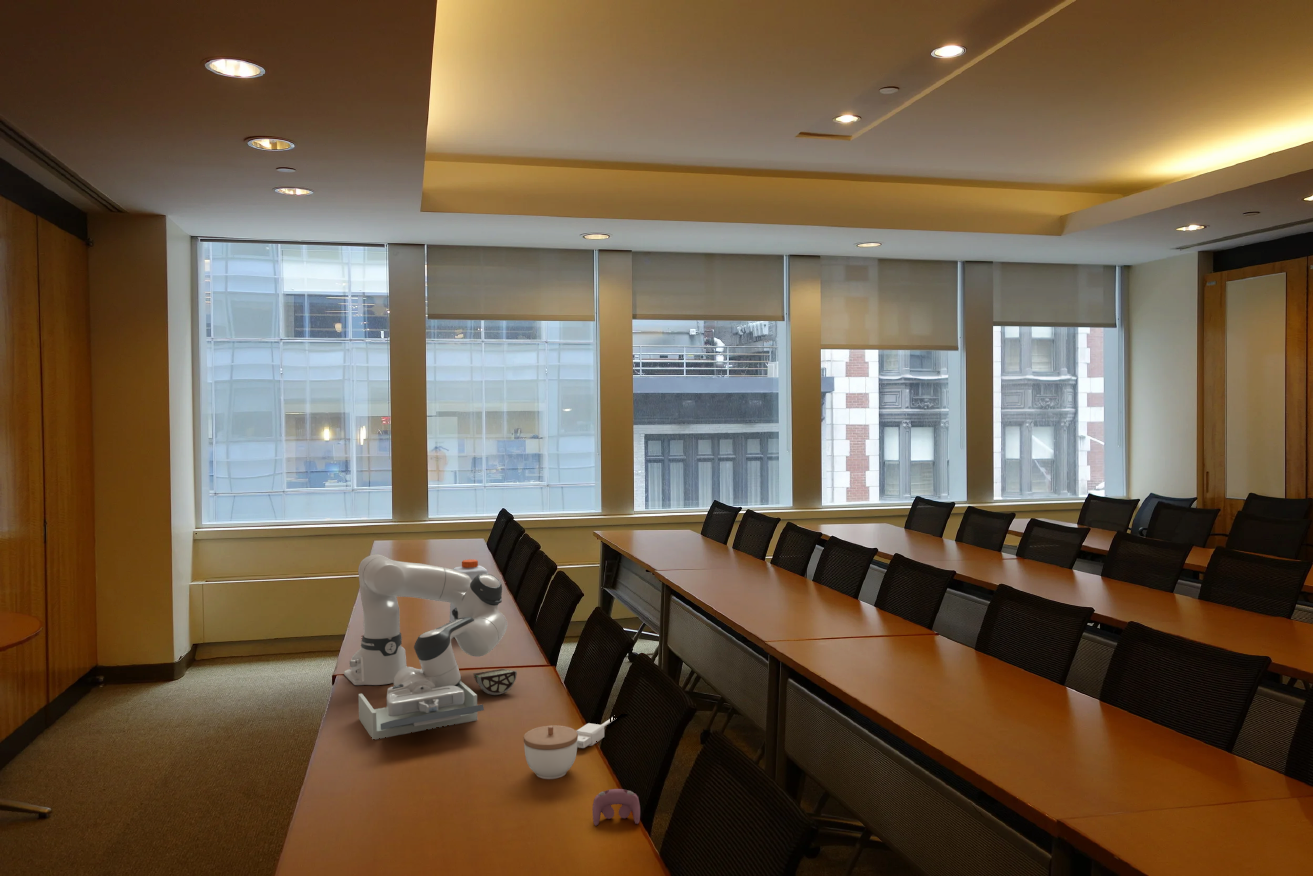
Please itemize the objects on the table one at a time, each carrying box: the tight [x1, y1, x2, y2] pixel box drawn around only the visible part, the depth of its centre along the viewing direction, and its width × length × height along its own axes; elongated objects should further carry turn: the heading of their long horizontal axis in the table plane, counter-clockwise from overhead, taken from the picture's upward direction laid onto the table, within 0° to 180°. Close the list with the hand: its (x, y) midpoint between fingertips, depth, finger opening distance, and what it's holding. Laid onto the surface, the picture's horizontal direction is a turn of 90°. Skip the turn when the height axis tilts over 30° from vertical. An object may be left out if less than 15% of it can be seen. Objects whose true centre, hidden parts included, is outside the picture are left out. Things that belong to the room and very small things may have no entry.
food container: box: [473, 668, 518, 696], centre depth 268 cm, size 12×6×10 cm
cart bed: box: [358, 680, 478, 740], centre depth 244 cm, size 18×28×7 cm, turn 120°
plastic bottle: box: [448, 558, 489, 623], centre depth 338 cm, size 15×15×28 cm
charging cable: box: [576, 716, 616, 749], centre depth 236 cm, size 5×32×3 cm, turn 158°
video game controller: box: [592, 788, 641, 826], centre depth 184 cm, size 10×5×7 cm, turn 93°
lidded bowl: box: [523, 724, 578, 780], centre depth 207 cm, size 13×13×11 cm
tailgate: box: [381, 703, 485, 730], centre depth 231 cm, size 2×24×12 cm
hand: (432, 709), depth 230 cm, fingers closed
